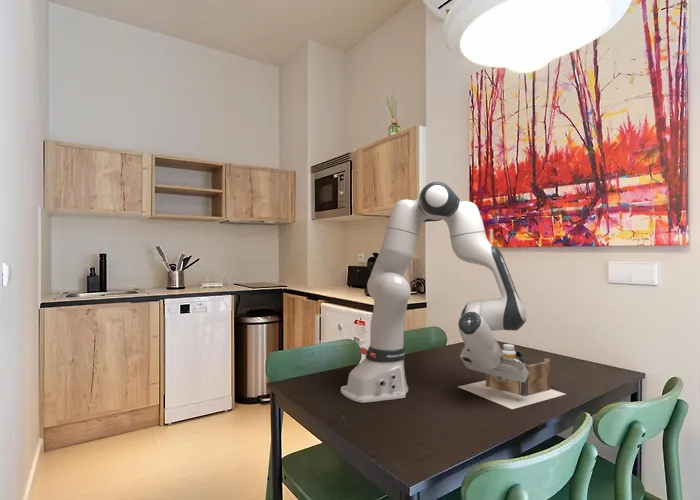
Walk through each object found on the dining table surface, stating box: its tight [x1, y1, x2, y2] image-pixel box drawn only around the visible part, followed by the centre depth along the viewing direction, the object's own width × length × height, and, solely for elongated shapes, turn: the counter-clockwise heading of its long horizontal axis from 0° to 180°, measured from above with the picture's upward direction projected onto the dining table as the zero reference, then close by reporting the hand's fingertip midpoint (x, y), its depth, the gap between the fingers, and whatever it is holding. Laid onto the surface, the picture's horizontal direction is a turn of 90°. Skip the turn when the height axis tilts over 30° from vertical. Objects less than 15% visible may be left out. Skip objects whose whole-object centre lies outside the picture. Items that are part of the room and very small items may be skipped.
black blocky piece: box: [514, 349, 530, 365], centre depth 171 cm, size 12×7×5 cm, turn 51°
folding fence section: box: [485, 373, 520, 393], centre depth 134 cm, size 11×2×10 cm, turn 45°
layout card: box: [457, 380, 567, 410], centre depth 133 cm, size 26×22×1 cm
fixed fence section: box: [521, 358, 551, 396], centre depth 132 cm, size 14×2×10 cm, turn 120°
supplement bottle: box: [501, 343, 517, 359], centre depth 158 cm, size 5×5×10 cm
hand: (501, 379), depth 133 cm, fingers closed, pressing on folding fence section
